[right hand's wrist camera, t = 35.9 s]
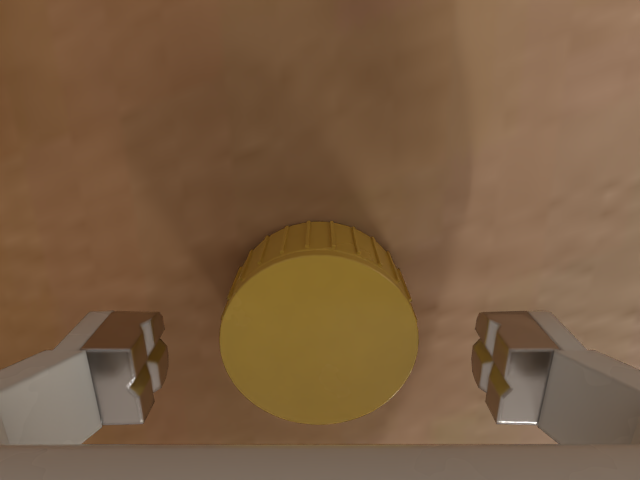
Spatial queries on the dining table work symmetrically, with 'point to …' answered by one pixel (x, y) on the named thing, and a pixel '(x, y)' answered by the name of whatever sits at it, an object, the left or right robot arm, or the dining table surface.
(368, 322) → the cap
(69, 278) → the dining table surface
